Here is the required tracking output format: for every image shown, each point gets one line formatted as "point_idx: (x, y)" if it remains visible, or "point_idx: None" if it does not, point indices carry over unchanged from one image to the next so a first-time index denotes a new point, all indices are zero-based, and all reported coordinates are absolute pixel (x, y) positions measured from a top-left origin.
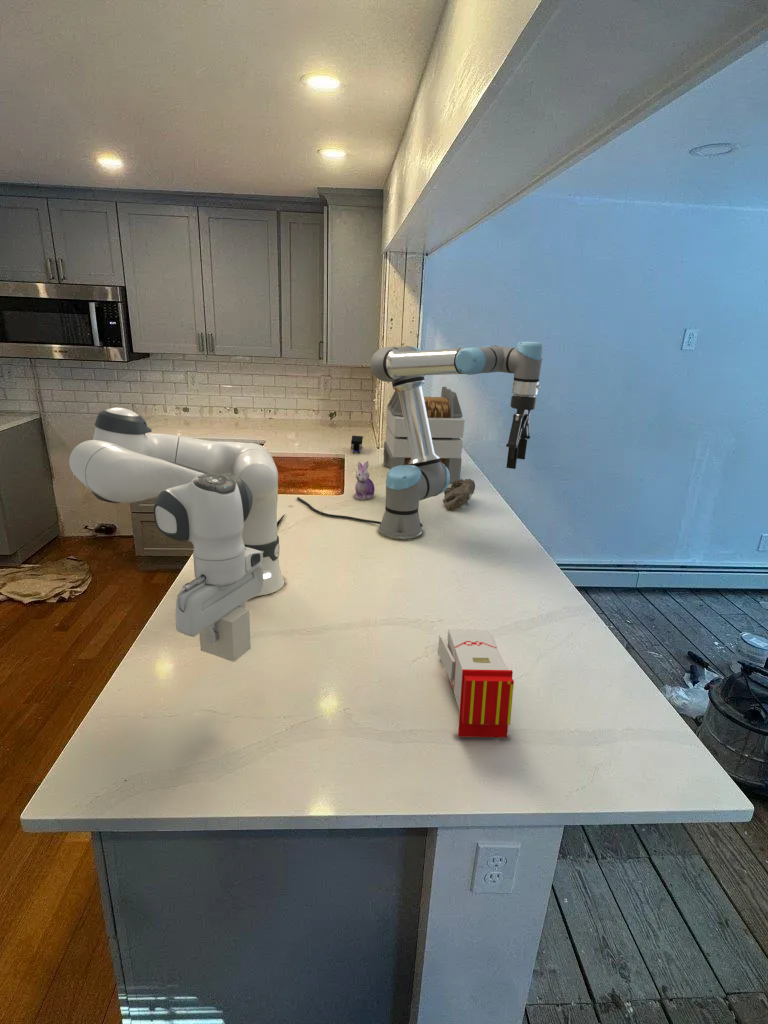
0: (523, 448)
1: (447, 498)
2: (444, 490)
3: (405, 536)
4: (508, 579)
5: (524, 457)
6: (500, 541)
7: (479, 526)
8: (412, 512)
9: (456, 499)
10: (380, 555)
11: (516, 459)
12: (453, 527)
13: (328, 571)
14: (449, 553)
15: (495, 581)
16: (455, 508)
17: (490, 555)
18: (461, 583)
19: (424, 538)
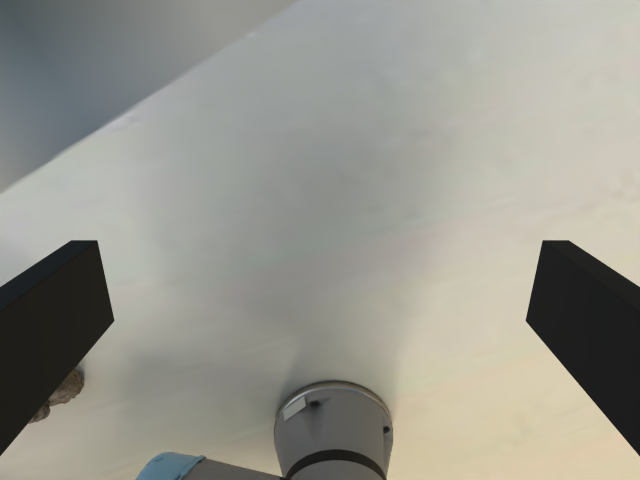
0: (22, 333)
1: (47, 416)
2: (172, 455)
3: (383, 409)
4: (530, 75)
5: (83, 251)
6: (235, 174)
7: (149, 267)
8: (362, 459)
9: (54, 392)
10: (499, 413)
11: (630, 289)
12: (210, 329)
13: (623, 461)
14: (412, 282)
15: (558, 110)
16: (72, 370)
17: (369, 174)
18: (601, 196)
19: (340, 367)
